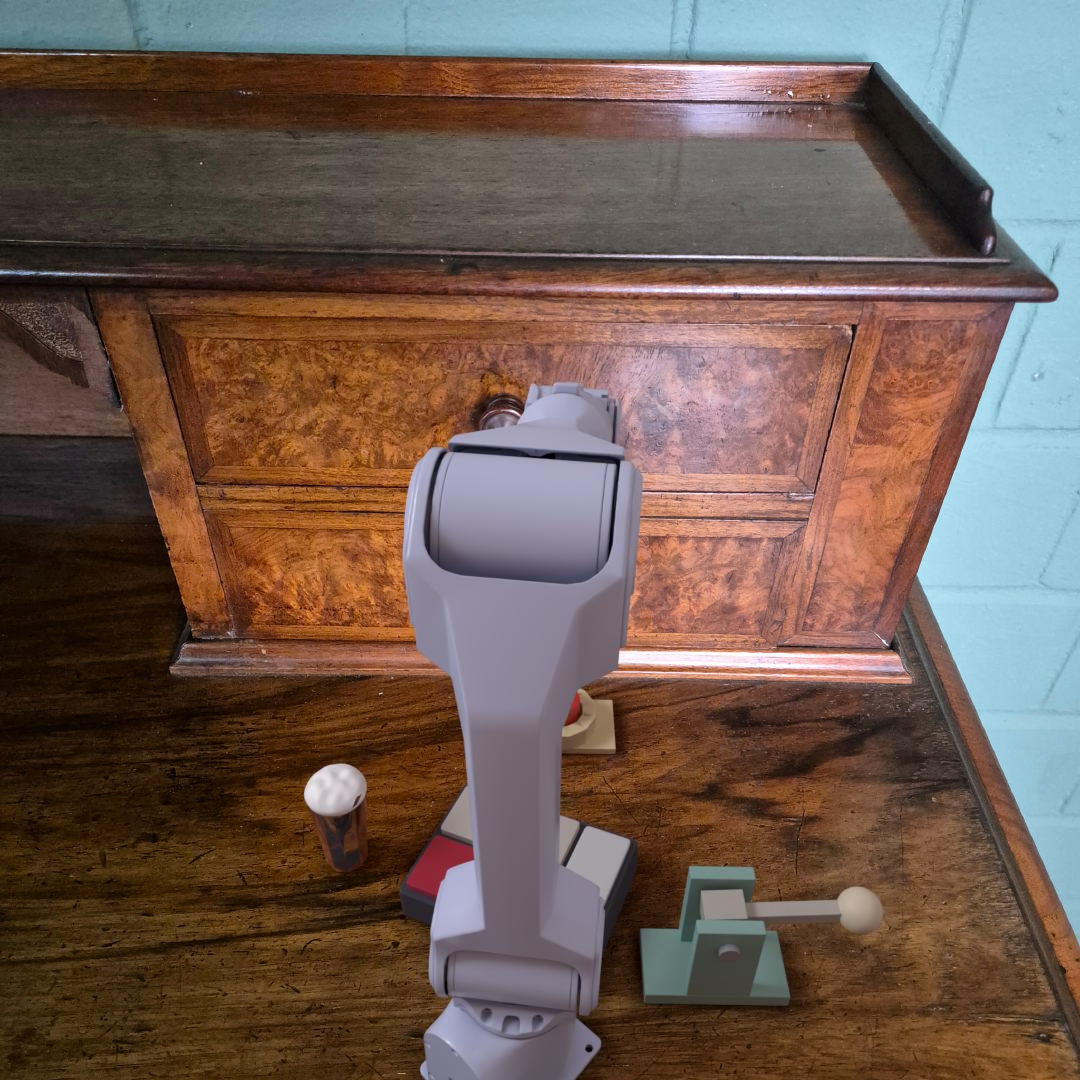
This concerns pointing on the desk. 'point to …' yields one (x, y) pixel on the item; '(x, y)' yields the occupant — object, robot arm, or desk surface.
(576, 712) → the stop button
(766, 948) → the bracket
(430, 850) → the calculator
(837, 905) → the lever
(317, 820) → the milkshake
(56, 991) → the desk surface
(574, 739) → the button box
